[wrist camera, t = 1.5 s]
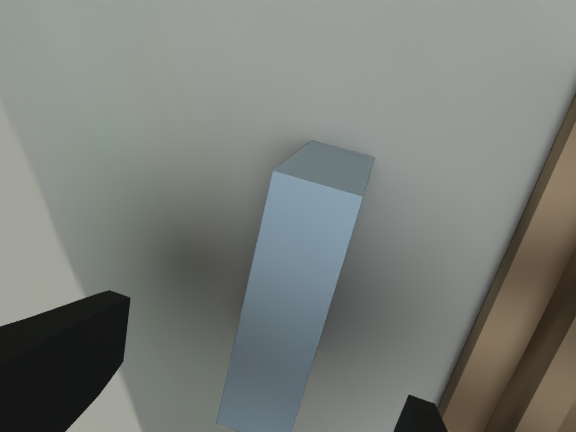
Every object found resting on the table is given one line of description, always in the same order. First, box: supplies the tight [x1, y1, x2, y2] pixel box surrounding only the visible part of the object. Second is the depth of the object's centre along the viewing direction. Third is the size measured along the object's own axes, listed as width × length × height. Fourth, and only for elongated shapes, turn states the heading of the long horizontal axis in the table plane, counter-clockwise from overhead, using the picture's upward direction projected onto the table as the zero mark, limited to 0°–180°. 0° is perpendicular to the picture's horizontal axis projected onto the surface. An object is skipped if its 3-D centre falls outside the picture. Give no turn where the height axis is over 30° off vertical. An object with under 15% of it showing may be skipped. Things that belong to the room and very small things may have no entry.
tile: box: [216, 140, 375, 432], centre depth 16 cm, size 9×2×6 cm, turn 167°
